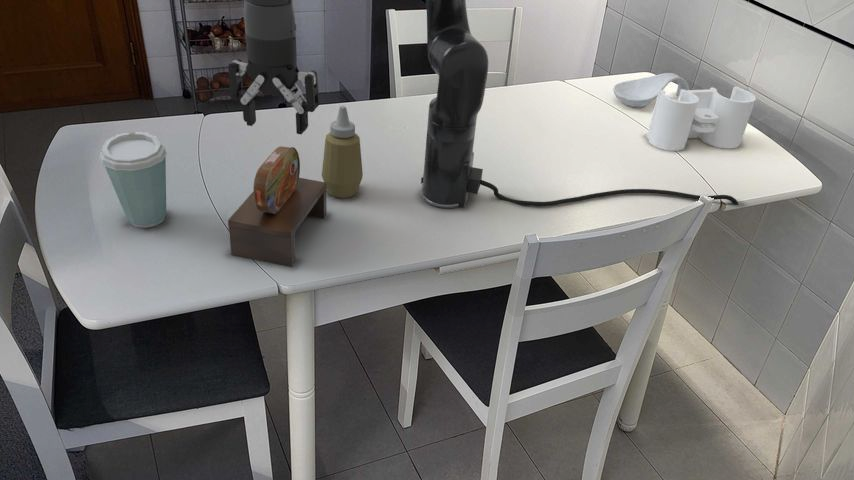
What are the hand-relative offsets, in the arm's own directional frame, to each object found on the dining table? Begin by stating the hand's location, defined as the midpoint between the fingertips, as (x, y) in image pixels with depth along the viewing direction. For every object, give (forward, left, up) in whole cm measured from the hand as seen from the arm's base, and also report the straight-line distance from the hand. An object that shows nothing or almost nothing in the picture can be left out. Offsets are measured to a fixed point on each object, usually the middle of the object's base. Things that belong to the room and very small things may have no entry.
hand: (276, 128), depth 122 cm
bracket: (-79, -72, -21) cm, 110 cm away
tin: (0, 0, -14) cm, 14 cm away
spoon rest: (-69, -95, -21) cm, 119 cm away
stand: (0, 0, -21) cm, 21 cm away
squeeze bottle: (-5, -18, -21) cm, 28 cm away
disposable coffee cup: (+25, +4, -21) cm, 32 cm away
